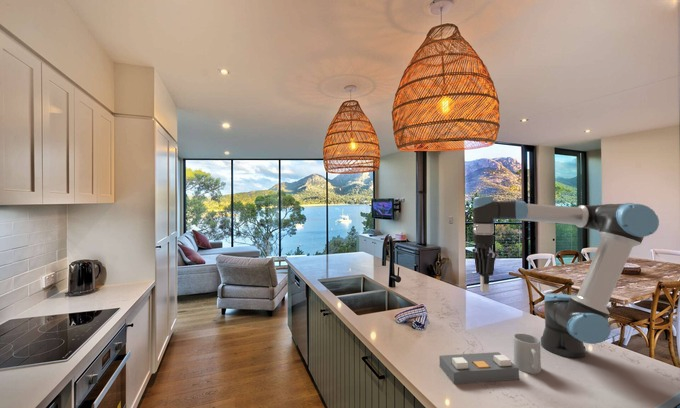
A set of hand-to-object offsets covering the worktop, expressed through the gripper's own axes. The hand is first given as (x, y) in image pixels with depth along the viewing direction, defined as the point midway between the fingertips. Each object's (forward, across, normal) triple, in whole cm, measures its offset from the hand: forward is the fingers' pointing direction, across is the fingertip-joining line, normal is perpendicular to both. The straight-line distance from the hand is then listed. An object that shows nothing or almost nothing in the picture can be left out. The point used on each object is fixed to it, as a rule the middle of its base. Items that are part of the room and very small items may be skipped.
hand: (484, 291), depth 114 cm
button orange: (+25, +13, -10) cm, 30 cm away
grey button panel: (+26, +10, -10) cm, 30 cm away
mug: (+27, +11, +10) cm, 30 cm away
